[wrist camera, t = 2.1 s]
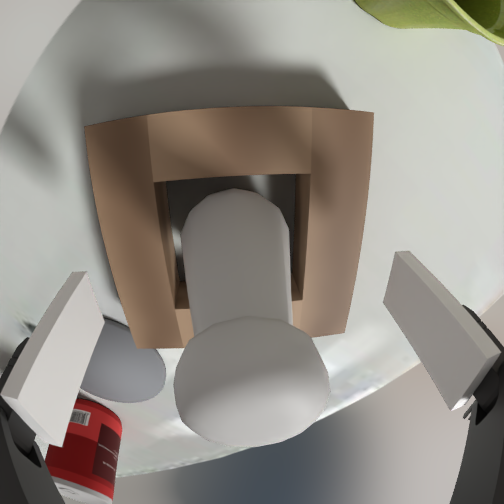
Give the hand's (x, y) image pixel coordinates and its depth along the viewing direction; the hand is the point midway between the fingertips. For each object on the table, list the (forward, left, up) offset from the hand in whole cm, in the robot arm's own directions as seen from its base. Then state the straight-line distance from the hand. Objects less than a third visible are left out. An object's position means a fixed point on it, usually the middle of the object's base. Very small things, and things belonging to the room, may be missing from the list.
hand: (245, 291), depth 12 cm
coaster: (-12, -12, -7) cm, 18 cm away
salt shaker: (0, 0, -7) cm, 7 cm away
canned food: (-18, -22, -7) cm, 29 cm away
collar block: (0, 0, -7) cm, 7 cm away
